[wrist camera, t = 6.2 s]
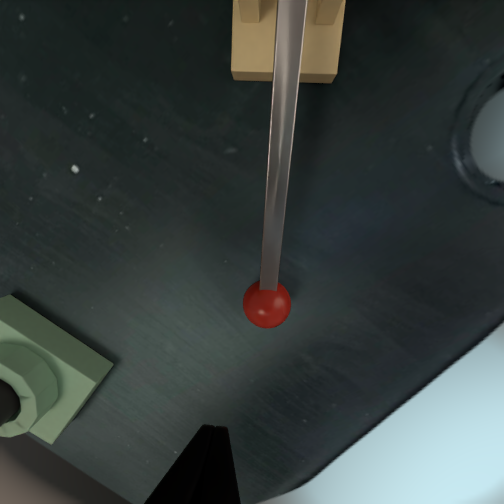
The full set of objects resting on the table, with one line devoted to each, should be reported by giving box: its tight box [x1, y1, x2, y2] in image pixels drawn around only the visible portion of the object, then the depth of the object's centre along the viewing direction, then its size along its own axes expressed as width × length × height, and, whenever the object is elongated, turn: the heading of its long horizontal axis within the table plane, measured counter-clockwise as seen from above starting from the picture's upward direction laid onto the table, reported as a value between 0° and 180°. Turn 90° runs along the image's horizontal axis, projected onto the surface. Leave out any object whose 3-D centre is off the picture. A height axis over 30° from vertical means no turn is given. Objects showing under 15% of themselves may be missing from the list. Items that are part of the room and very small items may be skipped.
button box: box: [0, 295, 114, 444], centre depth 19 cm, size 10×8×4 cm
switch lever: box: [243, 0, 308, 328], centre depth 12 cm, size 22×3×3 cm, turn 177°
